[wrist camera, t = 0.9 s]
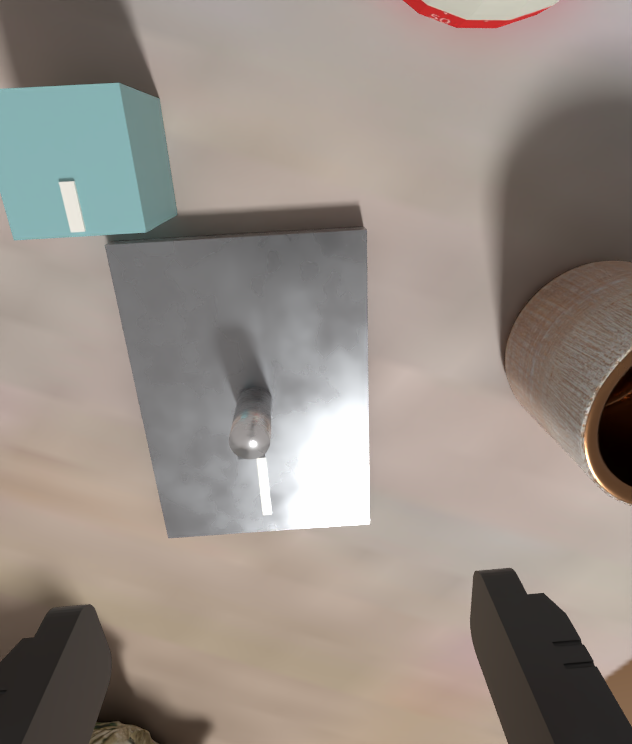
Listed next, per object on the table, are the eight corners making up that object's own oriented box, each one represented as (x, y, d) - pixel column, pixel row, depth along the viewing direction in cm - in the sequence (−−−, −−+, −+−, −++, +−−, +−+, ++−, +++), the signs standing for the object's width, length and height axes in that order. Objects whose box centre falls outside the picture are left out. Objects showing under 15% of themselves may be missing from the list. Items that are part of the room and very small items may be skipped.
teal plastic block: (46, 104, 25) (-32, 89, 19) (159, 98, 25) (117, 82, 19) (74, 220, 27) (12, 240, 21) (177, 214, 28) (145, 232, 21)
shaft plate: (112, 241, 28) (71, 262, 23) (363, 226, 28) (380, 243, 23) (172, 526, 36) (151, 590, 31) (367, 512, 36) (380, 573, 31)
